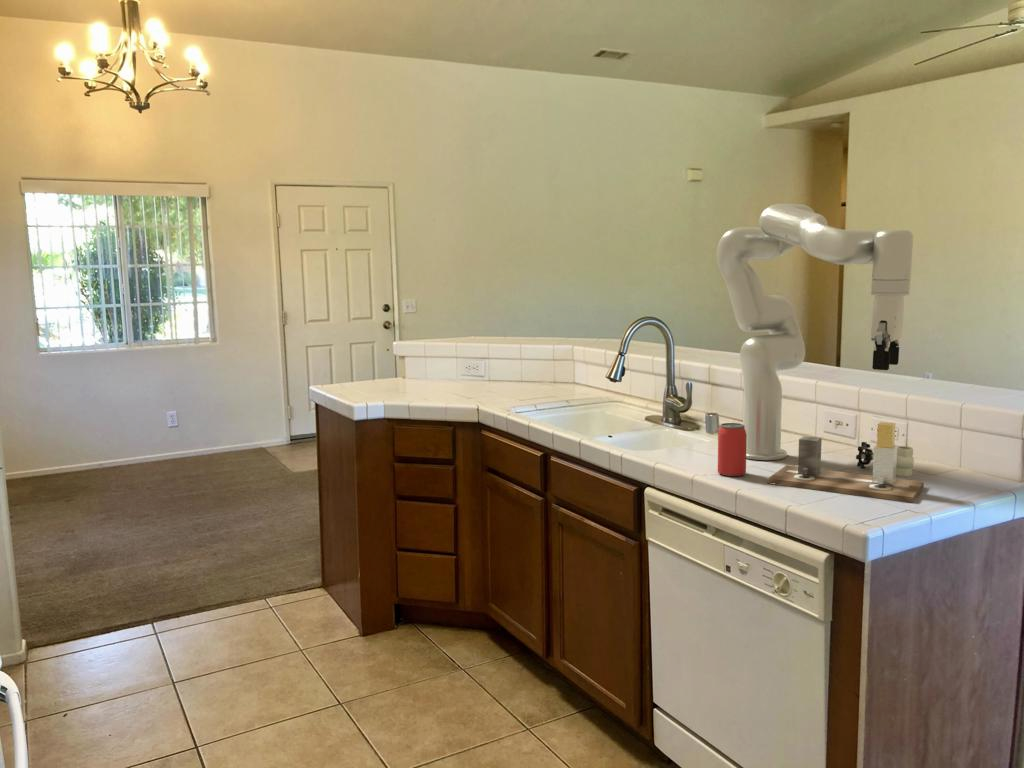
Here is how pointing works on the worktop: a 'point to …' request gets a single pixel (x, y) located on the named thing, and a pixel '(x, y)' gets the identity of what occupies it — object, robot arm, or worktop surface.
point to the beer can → (732, 449)
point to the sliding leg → (885, 455)
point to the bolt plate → (839, 477)
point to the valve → (903, 458)
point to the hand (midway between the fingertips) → (885, 366)
